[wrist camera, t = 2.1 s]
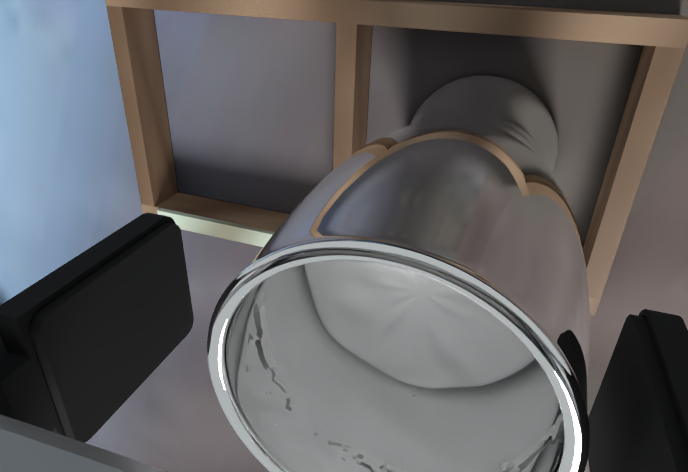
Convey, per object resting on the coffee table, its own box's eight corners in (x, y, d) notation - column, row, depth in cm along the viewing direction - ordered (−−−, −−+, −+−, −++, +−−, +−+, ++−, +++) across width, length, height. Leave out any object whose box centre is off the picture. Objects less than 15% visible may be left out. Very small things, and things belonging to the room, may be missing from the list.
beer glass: (366, 156, 23) (145, 381, 10) (472, 22, 19) (322, 126, 6) (483, 254, 23) (405, 593, 10) (612, 142, 19) (730, 470, 7)
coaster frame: (680, 15, 17) (697, 21, 15) (591, 289, 22) (595, 320, 20) (135, -16, 23) (97, -15, 21) (167, 203, 28) (139, 219, 26)
